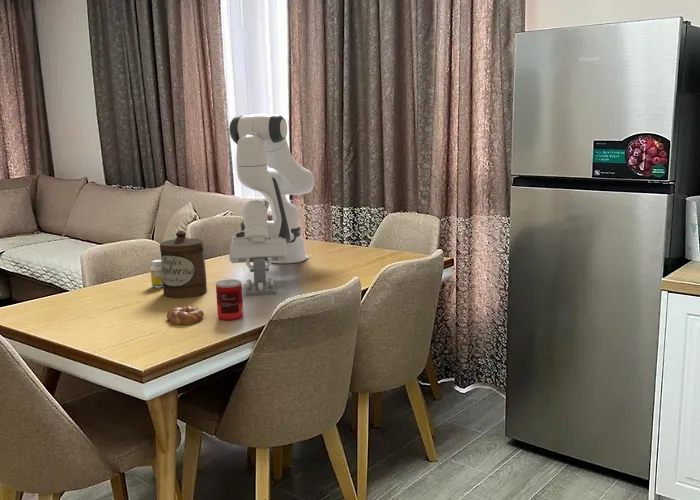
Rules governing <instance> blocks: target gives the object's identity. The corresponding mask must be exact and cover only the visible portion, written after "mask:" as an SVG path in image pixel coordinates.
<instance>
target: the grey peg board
mask: <svg viewBox="0 0 700 500" xmlns="http://www.w3.org/2000/svg"><path fill="white" fill-rule="evenodd" d="M267 280H268V282H266V286H263V282H259V283H258V286H256V287H255V285H254V283H252V279H246V283H245V287H244V288H245V295H246V297H247V296H248V297H249V296H263V295H264V296H265V295H266V296H267V295H276V294H277V293H276V291H277V290H276V287H275V284H274V278H272V277H268V278H267Z"/></svg>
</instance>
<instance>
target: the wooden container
mask: <svg viewBox="0 0 700 500" xmlns="http://www.w3.org/2000/svg"><path fill="white" fill-rule="evenodd" d="M175 236H176V237H175V239H170V240H165V241H161V242H160V243H159V250H160V260H161V263H162V281H163V288H162V291H163V296H165V297H167V298H174V299H179V298H180V299H181V298H182V299H184V297H186V298H192V297H197V296H200V295H201V296H202V295H204V294H206V293H207V292H208V288H207V287H208V286H207V271H206V261H205V251H204V240H202V239H200V238H192V237H191V238H190V237H189V238H188V237H187V232H186V231H184V230H178V231H176V232H175Z"/></svg>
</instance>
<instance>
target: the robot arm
mask: <svg viewBox="0 0 700 500" xmlns="http://www.w3.org/2000/svg"><path fill="white" fill-rule="evenodd" d="M228 128H229V136H230V137H231V140H232V141H233V142H234V143H235V144H236V159H235V161H236V171H237V176H238V177H237V178H238V180H239V182H240V183H241V184H242V185H244V187H246V188H248V189H250V190H252V191H256V192H259V193H260V194H261V195H262V196H263V197H264V198H265V199H266V200H267V202H268V205H269V206H270V211H271V217H272V220H269V218H268V217H269V216H268V213H267V212H268V211H267V207H266V204H265V202H264V201H262V200H259V199H257V200H255V199H254V200H249V201H246V202H245V203H244V206H243V220H242V221H241V224H240V231H239V232H235V233H233V234H232V236H231V237H232V239H231V243H230V246H229V253H228V257H229V262H230V263H231V264H241V263H245V265H246V266H247V268H248V269H249V273H254V267H253V264H251V263H253V258H262V257H264V258H265V263H267V264H265V269H266V272H269V271H270V267H271V265H272V263H273V264H294V263H301V262H303V261H305V260H309V259H310V255H307V254H306V247H305V246H306V245H305V240H304V239H303V238H302V237H301V232H302V231H301V226H300V213H299V211H300V210H299V209H298V207H297V206H296V205H295V204H294V203H292V202H290V201H289V200H288V199H287V197H286V195H290V196H292V195H293V196H294V195H295V196H298V195H299V196H300V195H305V194H309V193H311V192H312V191H313V189H314V187H315V176H314V174H313V172H312V171H311V170H310V169H307V168H305V167H304V166H302V165H301V164H300V163H299V162H298V161H297V160H296V159H295V158H294V157H293V155H292V153H291V151H290V148H289V144H288V142H287V141H288V140H287V134H288V125H287V121H286V119H285V118H284V117H283V116H282V115H280V114H275V113H272V114H266V113H256V114H249V115H238V116H234V117H233V118H232V119H231V121H230V123H229V127H228Z"/></svg>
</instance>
